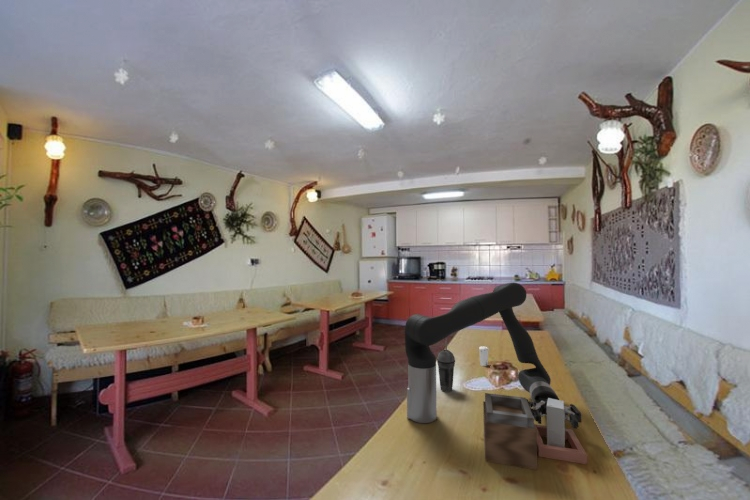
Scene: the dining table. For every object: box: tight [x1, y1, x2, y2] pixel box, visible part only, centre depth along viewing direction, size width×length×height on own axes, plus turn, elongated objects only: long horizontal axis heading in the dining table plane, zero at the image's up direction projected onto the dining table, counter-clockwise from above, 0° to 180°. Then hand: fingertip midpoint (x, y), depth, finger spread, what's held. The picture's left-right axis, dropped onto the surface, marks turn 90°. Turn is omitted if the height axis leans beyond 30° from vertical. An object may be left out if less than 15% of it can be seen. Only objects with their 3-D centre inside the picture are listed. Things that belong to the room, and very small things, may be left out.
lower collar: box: [534, 423, 588, 465], centre depth 86 cm, size 11×12×2 cm
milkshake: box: [478, 345, 491, 367], centre depth 152 cm, size 5×5×10 cm
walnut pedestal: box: [482, 392, 538, 471], centre depth 84 cm, size 12×12×12 cm
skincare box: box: [546, 398, 566, 448], centre depth 86 cm, size 6×4×12 cm
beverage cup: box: [436, 337, 456, 393], centre depth 124 cm, size 7×7×20 cm
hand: (557, 422), depth 84 cm, fingers open, 8 cm apart
